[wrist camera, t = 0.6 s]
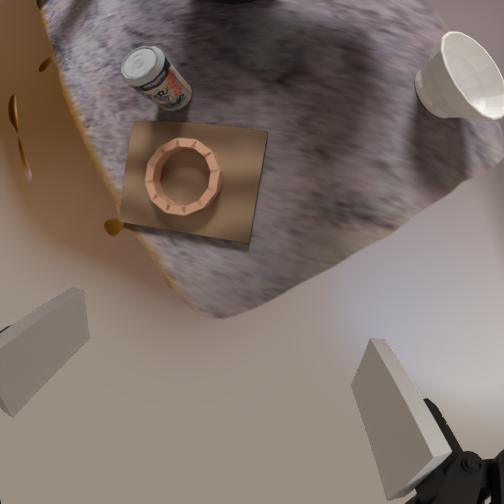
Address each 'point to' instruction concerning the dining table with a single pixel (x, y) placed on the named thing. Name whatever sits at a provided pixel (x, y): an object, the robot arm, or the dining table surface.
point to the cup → (461, 81)
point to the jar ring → (156, 167)
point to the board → (195, 178)
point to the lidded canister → (156, 78)
